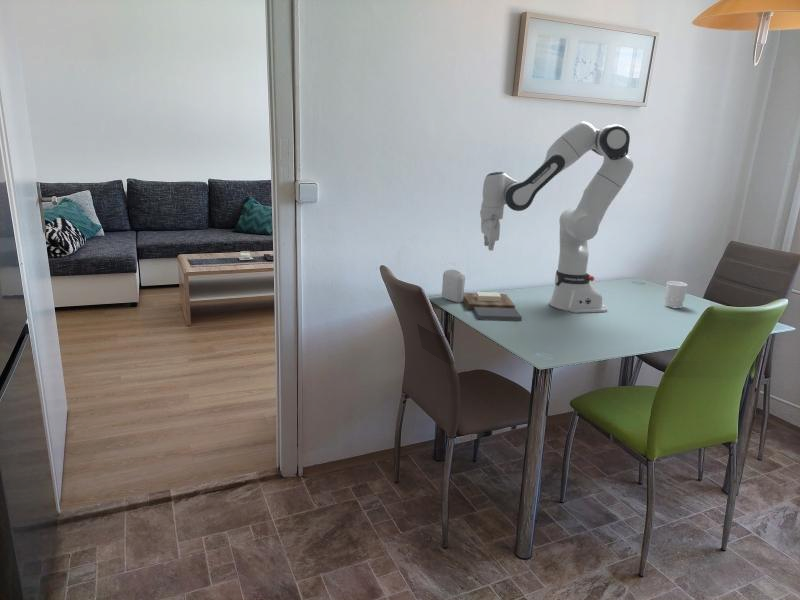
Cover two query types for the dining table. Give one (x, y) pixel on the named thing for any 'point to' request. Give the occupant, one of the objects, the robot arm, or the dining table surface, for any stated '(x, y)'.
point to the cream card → (488, 296)
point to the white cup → (675, 293)
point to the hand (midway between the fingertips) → (488, 247)
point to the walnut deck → (487, 302)
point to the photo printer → (453, 285)
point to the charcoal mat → (497, 313)
